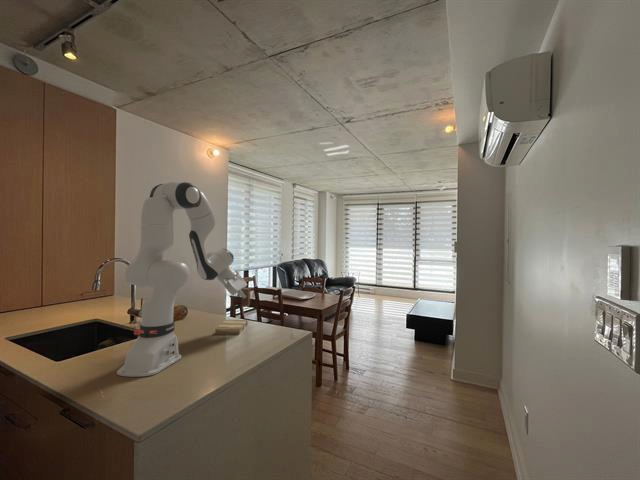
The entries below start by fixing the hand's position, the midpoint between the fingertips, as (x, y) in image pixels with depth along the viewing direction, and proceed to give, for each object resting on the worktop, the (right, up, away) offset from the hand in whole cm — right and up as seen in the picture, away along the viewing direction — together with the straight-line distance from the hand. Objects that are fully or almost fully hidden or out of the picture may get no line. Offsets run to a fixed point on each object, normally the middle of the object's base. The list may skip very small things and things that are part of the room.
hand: (247, 296), depth 153 cm
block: (-1, -5, 0) cm, 5 cm away
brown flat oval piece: (-46, -17, +14) cm, 51 cm away
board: (-8, -17, 0) cm, 19 cm away
